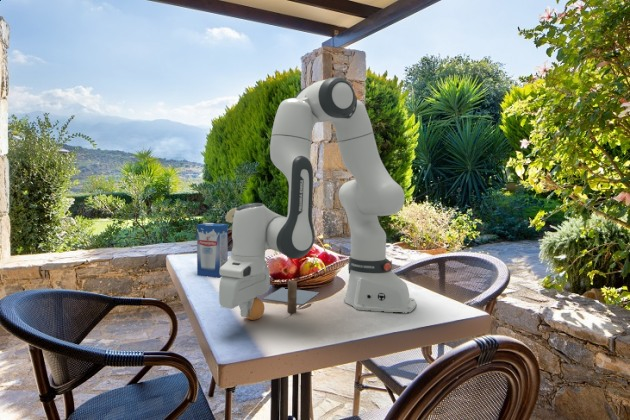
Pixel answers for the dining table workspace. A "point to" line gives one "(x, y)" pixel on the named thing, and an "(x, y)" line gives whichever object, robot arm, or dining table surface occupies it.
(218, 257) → the milk carton
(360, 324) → the dining table surface
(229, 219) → the flower in vase
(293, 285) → the post near
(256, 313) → the ball
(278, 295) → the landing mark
